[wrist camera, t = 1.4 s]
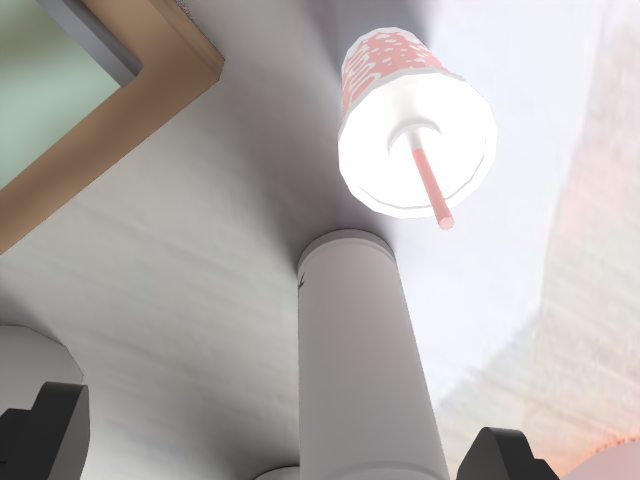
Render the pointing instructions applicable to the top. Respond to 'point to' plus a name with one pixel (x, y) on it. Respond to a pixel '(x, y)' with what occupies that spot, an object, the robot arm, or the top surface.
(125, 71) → the dock
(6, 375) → the toilet tissue
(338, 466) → the travel mug
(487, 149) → the beverage cup
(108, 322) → the top surface
